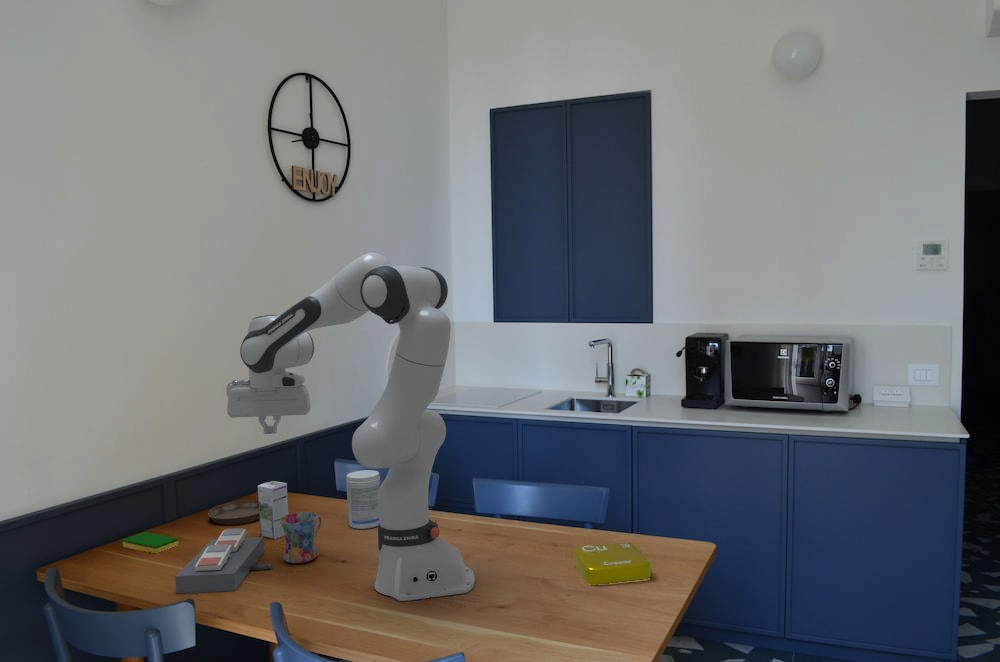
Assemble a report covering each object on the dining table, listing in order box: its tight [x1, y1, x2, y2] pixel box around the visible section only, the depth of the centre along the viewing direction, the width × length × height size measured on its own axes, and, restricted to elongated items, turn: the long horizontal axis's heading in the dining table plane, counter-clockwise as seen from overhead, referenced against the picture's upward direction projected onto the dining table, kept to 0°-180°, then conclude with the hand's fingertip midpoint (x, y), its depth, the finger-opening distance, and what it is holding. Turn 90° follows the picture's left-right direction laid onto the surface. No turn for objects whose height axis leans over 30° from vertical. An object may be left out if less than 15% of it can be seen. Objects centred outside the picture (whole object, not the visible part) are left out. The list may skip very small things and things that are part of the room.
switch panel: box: [175, 536, 273, 595], centre depth 182 cm, size 18×25×4 cm
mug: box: [280, 511, 323, 564], centre depth 190 cm, size 12×9×11 cm
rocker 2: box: [215, 527, 247, 552], centre depth 188 cm, size 6×9×2 cm, turn 3°
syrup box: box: [257, 480, 289, 540], centre depth 208 cm, size 6×6×14 cm
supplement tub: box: [345, 469, 382, 530], centre depth 215 cm, size 10×10×15 cm
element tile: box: [572, 542, 652, 585], centre depth 174 cm, size 15×15×5 cm
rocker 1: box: [195, 544, 232, 571], centre depth 176 cm, size 6×9×2 cm, turn 3°
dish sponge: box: [122, 531, 179, 554], centre depth 203 cm, size 7×14×2 cm, turn 61°
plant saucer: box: [207, 499, 260, 526], centre depth 226 cm, size 18×18×3 cm
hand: (270, 433), depth 192 cm, fingers closed
